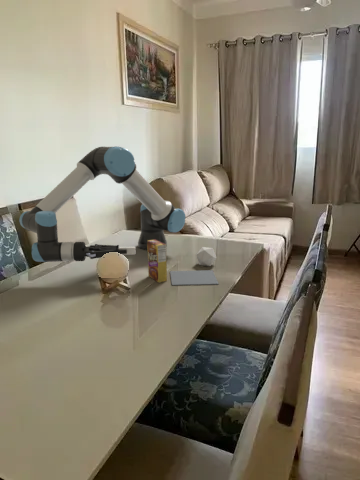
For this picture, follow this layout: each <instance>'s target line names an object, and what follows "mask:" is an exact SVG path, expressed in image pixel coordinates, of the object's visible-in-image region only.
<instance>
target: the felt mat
mask: <svg viewBox="0 0 360 480" xmlns="http://www.w3.org/2000/svg"><path fill="white" fill-rule="evenodd" d="M169 274H170V275H169V276H170V282H171V286H215V285H216V286H218V285H219V282H218V279H217V277H216V274H215V272H214V270H213V269H210V270H209V269H207V270H202V269H200V270H170V271H169Z"/></svg>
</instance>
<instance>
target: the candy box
mask: <svg viewBox="0 0 360 480" xmlns="http://www.w3.org/2000/svg"><path fill="white" fill-rule="evenodd" d="M147 249H148V250H147V264H148V266H147V268H148V271H147V272H148V277H149V278H151V279H152V280H154V281H155V282H157V283H164V282H167V281H168V273H167V270H168V268H167V267H168V265H167V264H168V263H167V261H168V260H167V247H166V244H164V243H162V242H160V241H157V240H156V239H155V240H149V241H147Z"/></svg>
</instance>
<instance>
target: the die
mask: <svg viewBox="0 0 360 480" xmlns="http://www.w3.org/2000/svg"><path fill="white" fill-rule="evenodd" d="M195 256H196V259H197V262H198V265H199V266H203V267H204V266H205V267H211V266H212V265H213V264H214V263H215V261H216V260H217V255H216V253H215V249H214V248H213V247H206V246H201V248H200V249H199V250H198V252H197V253H196V254H195Z"/></svg>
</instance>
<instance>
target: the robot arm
mask: <svg viewBox="0 0 360 480" xmlns="http://www.w3.org/2000/svg"><path fill="white" fill-rule="evenodd" d="M100 175H108V176H109V178H111V179H112V180H113V181H114V182H115V183H116V184H122V185H123V186H124V187H125V188H126V190H128V191H129V192H130V193H131V194H132V195H133V196H134V198H135V199H137V200H138V201H139V202H140V204H141V205H140V211H139V212H140V213H139V214H140V234H139V238H138V242H137V247H138V249H142V250H145V251H146V250H147V251H148V249H147V241H149V240H155V239H156V240H157V241H160V242H162V243H164V244H166V248H167V246H168V241H167V239H166V236H165V232H164V231H166V232H169V233H178V232H180V231H182V229H183V228H184V227H185V224H186V214H185V211H184V210H183V209H181V208H178V207H175V206H174V205H173V203H172V202H171V201H170V200H165V199H164V198H163V197H162V196H161V195H160V194H159V193H158V192H157V191H156V190H155V189H154V188H153V186H152V185H151V184H150V183H149V182H148V180H146V179H145V177H143V175H142V174H141V173H140V172H139V171H138V170H137V164H136V162H135V157H134V155H133V153H132V152H131V151H130V150H129V149H127V148H125V147H122V146H97V147H95V148H94V149H92V150H90V152H88V153H87V154H86V155H85V156H83V157H82V158H81V159H80V160H79V161H78V162H77V163H76V167H75V168H74V169H73V170H72V171H71V172H70V173H69V174H68V175H67V176H66V177H65V178H64V179H63V180H62V181H60V183H58V184H57V185H56V186H55V187H54V188H53V189H51V191H50V192H49V193H48V194H47V195H46V196H44V198H42V199H41V200H40V201H39V202H38V203H37V204H36V205H35V206H34V207H33V208H32V209H31V210H28V211H27V210H26V211H23V212H22V213H21V214H20V215H19V224H20V226H21V227H22V228H24V229H25V230H27V231H30V232H32V233H35V234H36V239H37V242H34V243H33V244H32V245H31V258H32V260H33V261H35V262H37V263H39V262H41V263H50V262H53V263H54V262H66V263H67V264H68V263H69V262H74V261H75V262H84V261H86V258H90V260H93V259H102V258H101V257H102V256H103V255H104V254H106V253H109V252H118V253H120V254H122V256H125V255H127V256H129V255H136V253H137V252H136V249H137V248H136V246H120V245H119V244H117V245H111V244H97V243H95V244H91V245H89V246H86V243H85V242H84V241H75V242H74V241H61V242H60V241H59V237H58V220H57V214H56V213H58V211H60V209H61V208H63V206H64V205H65V204H67V202H69V200H71V198H73V196H74V195H76V193H78V192H79V191H80V190H81V189H82V188H83V187H84V186H85V185H87V183H88V182H90V181H94V180H95V179H96V178H97V177H99V176H100Z"/></svg>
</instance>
